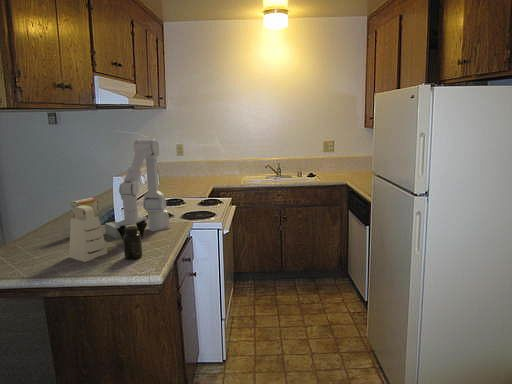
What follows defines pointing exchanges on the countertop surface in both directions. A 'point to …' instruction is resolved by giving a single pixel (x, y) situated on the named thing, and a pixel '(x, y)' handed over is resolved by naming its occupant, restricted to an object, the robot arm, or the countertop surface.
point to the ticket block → (112, 230)
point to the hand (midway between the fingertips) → (133, 240)
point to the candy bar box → (86, 202)
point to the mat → (119, 240)
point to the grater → (86, 235)
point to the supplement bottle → (132, 243)
